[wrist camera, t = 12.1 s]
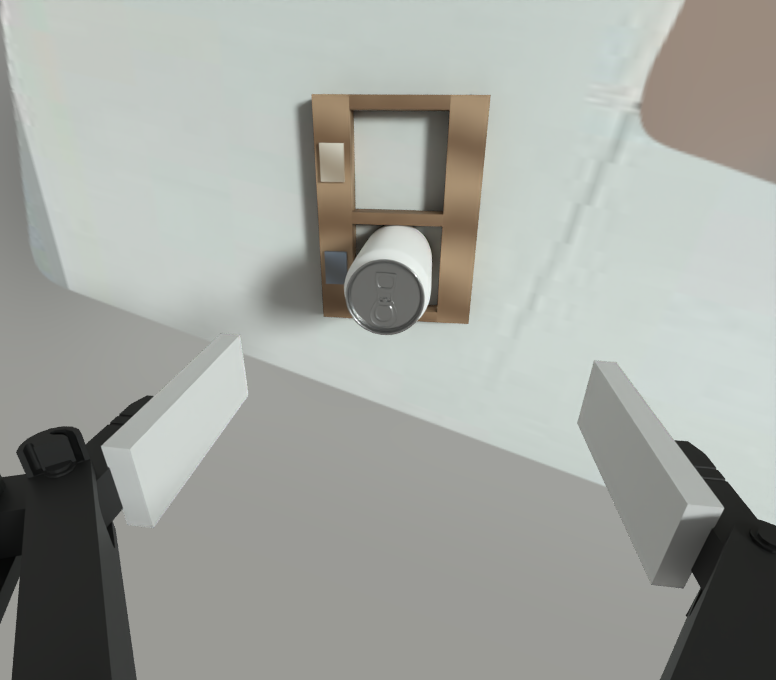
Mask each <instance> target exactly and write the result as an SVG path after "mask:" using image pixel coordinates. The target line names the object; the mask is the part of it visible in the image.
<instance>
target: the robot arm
mask: <svg viewBox="0 0 776 680" xmlns="http://www.w3.org/2000/svg"><path fill="white" fill-rule="evenodd" d="M247 396H248V388H247V381H246V374H245V367H244V359H243V352H242V345H241V337H240V335H237V334H223V333H221V334H220V335H219V336H218V337H217V338H215V339H214V340H213V341H212V342H211V343H210V344H209V345H208V346H207V347H206V348H205V349H204V350H203V351H202V352H201V353H200V354H199V355H197V356H196V357H195V358H194V359H193V360H192V361H191V362H190V363H189V364H188V365H187V366H186V367H185V368H184V369H183V370H181V371H180V372H179V373H178V374H177V375H176V376H175V377H174V378H173V379H172V380H171V381H170V382H169V383H168V384H167V385H166V386H164V387H163V388H162V389H161V390H160V391H159V392H158V393H157V394H156V395H155V396H145V397H143V398H142V399H140V400H138V401H136V402H134V403H132V404H131V405H129V406H128V407H127V408H126V409H125V410H124V411H123V412H121V413H120V415H119V416H117V417H116V418H115V419H114V420H112V421H111V423H110V425H107V426H106V427H105V428H104V429H103V430H102V431H100V432H99V433H98V434H97V435H96V436H95V437H94V438H93V439H91V440H90V441H89V442H88V443H87V444H86V445H85V442H84V439H83V437H82V434H81V432H80V431H79V429H77V428H74V427H57V428H51V429H48V430H46V431H43V432H40V433H37V434H36V435H34V436H32V437H30V438H28V439H27V440H26V441H24V442H23V443H22V444H21V445H20V446H19V448H18V450H17V452H16V453H17V455H18V457H19V459H20V462H21V464H22V466H23V469H24V471H25V473H26V474H23V475H16V476H8V477H1V475H0V623H1V620H2V618H3V615H4V613H5V611H6V608H7V606H8V603H9V601H10V598H11V596H12V593H13V591H14V589H15V586H16V584H17V581H18V579H19V577H20V582H19V595H18V607H17V620H16V633H15V645H14V657H13V669H12V680H137V679H136V671H135V664H134V658H133V650H132V643H131V636H130V629H129V622H128V614H127V607H126V601H125V594H124V586H123V579H122V573H121V566H120V558H119V551H118V544H117V536H116V530H115V526H114V524H113V520H114V518H115V517H116V516H117V515H118V514H119V512H120V511H121V510H123V513H124V516H125V519H126V522H127V525H134V526H143V527H152V528H154V526H155V525H156V523H157V522H158V521H159V519H160V518H161V516H162V515H163V514H164V512H165V511H166V509H167V508H168V507H169V505H170V504H171V503H172V501H173V500H174V498H175V497H176V496H177V494H178V493H179V491H180V490H181V489H182V487H183V486H184V484H185V483H186V482H187V480H188V479H189V477H190V476H191V475H192V473H193V472H194V470H195V469H196V468H197V466H198V465H199V463H200V462H201V461H202V459H203V458H204V456H205V455H206V453H207V452H208V451H209V449H210V448H211V446H212V445H213V444H214V443H215V441H216V440H217V438H218V437H219V435H220V434H221V433H222V431H223V429H225V427H226V426H227V424H228V423H229V422H230V420H231V419H232V417H233V416H234V415H235V413H236V412H237V410H238V409H239V407H240V406H241V405H242V403H243V402H244V401H245V399H246V398H247ZM577 424H578V426H579V428H580V430H581V432H582V435H583V437H584V439H585V441H586V443H587V445H588V448H589V450H590V452H591V454H592V456H593V459H594V461H595V463H596V465H597V467H598V469H599V472H600V474H601V476H602V478H603V480H604V483H605V485H606V487H607V489H608V491H609V493H610V496H611V498H612V500H613V502H614V504H615V507H616V509H617V511H618V513H619V515H620V518H621V520H622V522H623V524H624V526H625V528H626V530H627V533H628V535H629V537H630V539H631V542H632V544H633V546H634V548H635V550H636V552H637V554H638V557H639V559H640V561H641V563H642V566H643V568H644V570H645V572H646V574H647V576H648V579H649V581H650V583H651V585H658V586H667V587H675V588H684V586H685V584H686V583H687V581H688V579H689V577H690V575H691V573H693V574H694V576H695V578H696V580H697V582H698V584H699V585H700V587H701V588H700V590H699V592H698V594H697V596H696V598H695V599H694V601H693V603H692V605H691V607H690V609H689V611H688V613H687V614H686V616H687V619H686V621H685V624H684V626H683V628H682V630H681V632H680V635H679V637H678V639H677V642H676V644H675V646H674V649H673V651H672V653H671V656H670V658H669V661H668V663H667V665H666V667H665V670H664V672H663V674H662V676H661V679H660V680H776V526H775V525H773V524H770V523H767V522H765V521H762V520H758V519H757V518H756V517H755V515H754V514H753V513H752V512H751V510H750V509H749V508H748V507H747V505H746V504H745V503H744V502H743V500H742V499H741V498H740V497H739V495H738V494H737V493H736V492H735V490H734V489H733V488H732V487H731V485H730V484H729V483H728V482H726V481H725V478H724V477H723V476H722V474H721V473H720V472H719V471H718V470H716V467H715V466H714V464H713V463H712V462H711V461H710V459H709V458H708V457H707V456H706V454H704V453H703V452H702V451H700V450H699V449H698V448H696V447H695V446H694V445H692V444H691V443H690V442H688V441H677V440H674V439H673V438H672V437H671V435H670V434H669V432H668V431H667V430H666V428H665V427H664V426H663V424H662V423H661V422H660V420H659V419H658V418H657V416H656V415H655V414H654V412H653V411H652V410H651V408H650V407H649V406H648V404H647V403H646V401H645V400H644V399H643V397H642V396H641V395H640V393H639V392H638V391H637V389H636V388H635V387H634V385H633V384H632V383H631V381H630V380H629V379H628V377H627V376H626V375H625V373H624V372H623V370H622V369H621V368H620V366H619V365H618V364H617V362H607V361H594V363H593V367H592V370H591V374H590V378H589V381H588V385H587V389H586V393H585V396H584V400H583V404H582V408H581V411H580V415H579V419H578V422H577Z"/></svg>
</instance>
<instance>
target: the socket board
mask: <svg viewBox="0 0 776 680" xmlns="http://www.w3.org/2000/svg"><path fill="white" fill-rule="evenodd" d="M489 106H490V95H346V94H312V112H313V130H314V149H315V167H316V185H317V203H318V222H319V240H320V258H321V276H322V295H323V313H324V317H343V318H352V316H351V314H350V313H349V310H348V308H347V304H346V299H345V294H344V284H345V279H346V275H347V272H348V270H349V268H350V266H351V265H352V263H353V262H354V260H355V258H356V224H375V225H408V226H440V227H442V238H441V254H440V270H439V285H438V301H437V305H428V306H427V308H426V310H425V312H424V314H423V315H422V316H421V317H420V319H419V320H418V321H422V322H442V323H462V324H468V322H469V312H470V301H471V291H472V281H473V270H474V260H475V250H476V240H477V229H478V219H479V209H480V198H481V188H482V178H483V167H484V157H485V147H486V137H487V126H488V116H489ZM354 110H388V111H449V127H448V143H447V159H446V175H445V190H444V206H443V211H418V210H382V209H355V161H354Z"/></svg>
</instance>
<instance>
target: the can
mask: <svg viewBox="0 0 776 680" xmlns="http://www.w3.org/2000/svg"><path fill="white" fill-rule="evenodd" d="M431 278H432V254H431V249H430V246H429V243H428V241H427V240H426V238H425V237H424V235H423V234H422V233H421V232H420V231H418V230H417V229H415V228H414V227H412V226H408V225H385V226H383V227H381V228H379V229H378V230H376V231H375V232H374V233H373V234H372V235H371V236H370V238H369V239H368V240H367V242H366V243H365V245H364V246H363V248H362V249H361V251H360V252H359V254H358V255H357V257H356V258H355V260H354V262H353V263H352V265H351V266H350V268H349V270H348V272H347V275H346V279H345V284H344V294H345V299H346V304H347V308H348V310H349V313H350V314H351V316H352V318H353V319H354V320H355V321H356V322H357V323H358V324H359V325H360V326H361V327H363V328H364V329H366V330H368V331H370V332H372V333H376V334H381V335H392V334H397V333H400V332H403V331H405V330H407V329H408V328H410V327H411V326H412V325H413V324H414V323H415V322H416V321H418V320H419V319H420V317H421V316H422V315H423V314H424V312H425V310H426V308H427V306H428V303H429V300H430V295H431Z"/></svg>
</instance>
